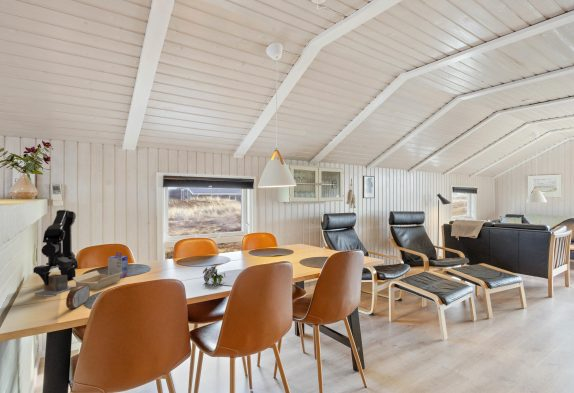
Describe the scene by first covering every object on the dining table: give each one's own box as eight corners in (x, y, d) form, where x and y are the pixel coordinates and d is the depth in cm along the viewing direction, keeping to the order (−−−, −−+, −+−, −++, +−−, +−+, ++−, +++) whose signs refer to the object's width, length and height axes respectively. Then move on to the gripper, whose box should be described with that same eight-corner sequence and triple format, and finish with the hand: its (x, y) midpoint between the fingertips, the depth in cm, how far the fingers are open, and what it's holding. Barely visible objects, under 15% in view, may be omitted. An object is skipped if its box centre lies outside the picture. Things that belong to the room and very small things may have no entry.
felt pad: (34, 294, 160) (34, 292, 160) (56, 287, 172) (56, 285, 172) (54, 295, 158) (54, 293, 158) (75, 288, 169) (75, 286, 169)
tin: (84, 299, 151) (84, 282, 151) (91, 299, 152) (91, 281, 152) (65, 311, 136) (64, 291, 136) (73, 311, 137) (72, 291, 137)
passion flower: (206, 293, 176) (198, 273, 180) (224, 286, 182) (216, 267, 186) (210, 286, 167) (202, 266, 172) (229, 279, 173) (220, 259, 178)
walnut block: (44, 290, 163) (43, 276, 163) (53, 287, 168) (52, 274, 168) (58, 291, 161) (58, 277, 161) (67, 288, 166) (67, 275, 166)
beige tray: (72, 288, 170) (72, 277, 170) (96, 280, 185) (96, 270, 185) (101, 290, 166) (101, 279, 166) (123, 281, 182) (123, 271, 182)
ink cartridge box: (128, 276, 193) (128, 252, 193) (122, 278, 188) (121, 254, 188) (114, 275, 195) (113, 251, 195) (107, 278, 190) (107, 253, 190)
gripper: (51, 256, 154) (51, 289, 154) (83, 249, 172) (83, 278, 172) (32, 255, 156) (32, 287, 156) (65, 249, 174) (66, 277, 174)
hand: (55, 282), depth 165 cm, fingers open, 9 cm apart
